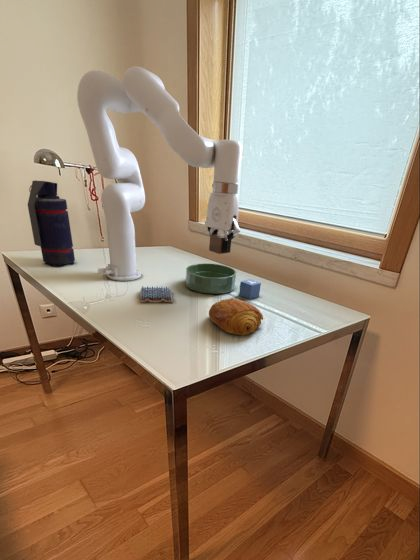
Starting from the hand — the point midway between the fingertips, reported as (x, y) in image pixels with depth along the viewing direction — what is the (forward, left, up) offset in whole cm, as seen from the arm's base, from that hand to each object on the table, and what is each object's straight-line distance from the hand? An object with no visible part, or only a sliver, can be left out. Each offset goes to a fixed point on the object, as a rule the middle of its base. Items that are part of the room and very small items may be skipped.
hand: (219, 250), depth 104 cm
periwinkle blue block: (+8, -8, -15) cm, 19 cm away
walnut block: (0, 0, 0) cm, 0 cm away
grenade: (-30, +62, -15) cm, 70 cm away
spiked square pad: (-19, +9, -15) cm, 26 cm away
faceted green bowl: (+4, +7, -15) cm, 17 cm away
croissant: (-13, -21, -15) cm, 29 cm away
